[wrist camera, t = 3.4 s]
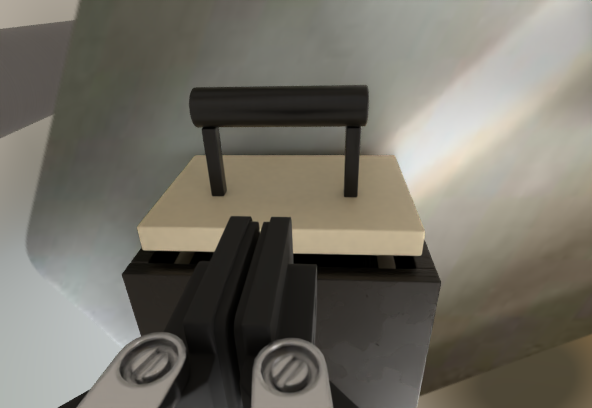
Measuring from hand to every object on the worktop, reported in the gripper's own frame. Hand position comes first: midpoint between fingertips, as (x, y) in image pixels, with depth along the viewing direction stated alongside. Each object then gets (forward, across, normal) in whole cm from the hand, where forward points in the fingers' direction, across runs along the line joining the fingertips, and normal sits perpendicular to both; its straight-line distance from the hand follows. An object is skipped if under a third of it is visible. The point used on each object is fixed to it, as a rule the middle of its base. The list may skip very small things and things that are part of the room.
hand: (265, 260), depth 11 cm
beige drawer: (+12, 0, +6) cm, 13 cm away
